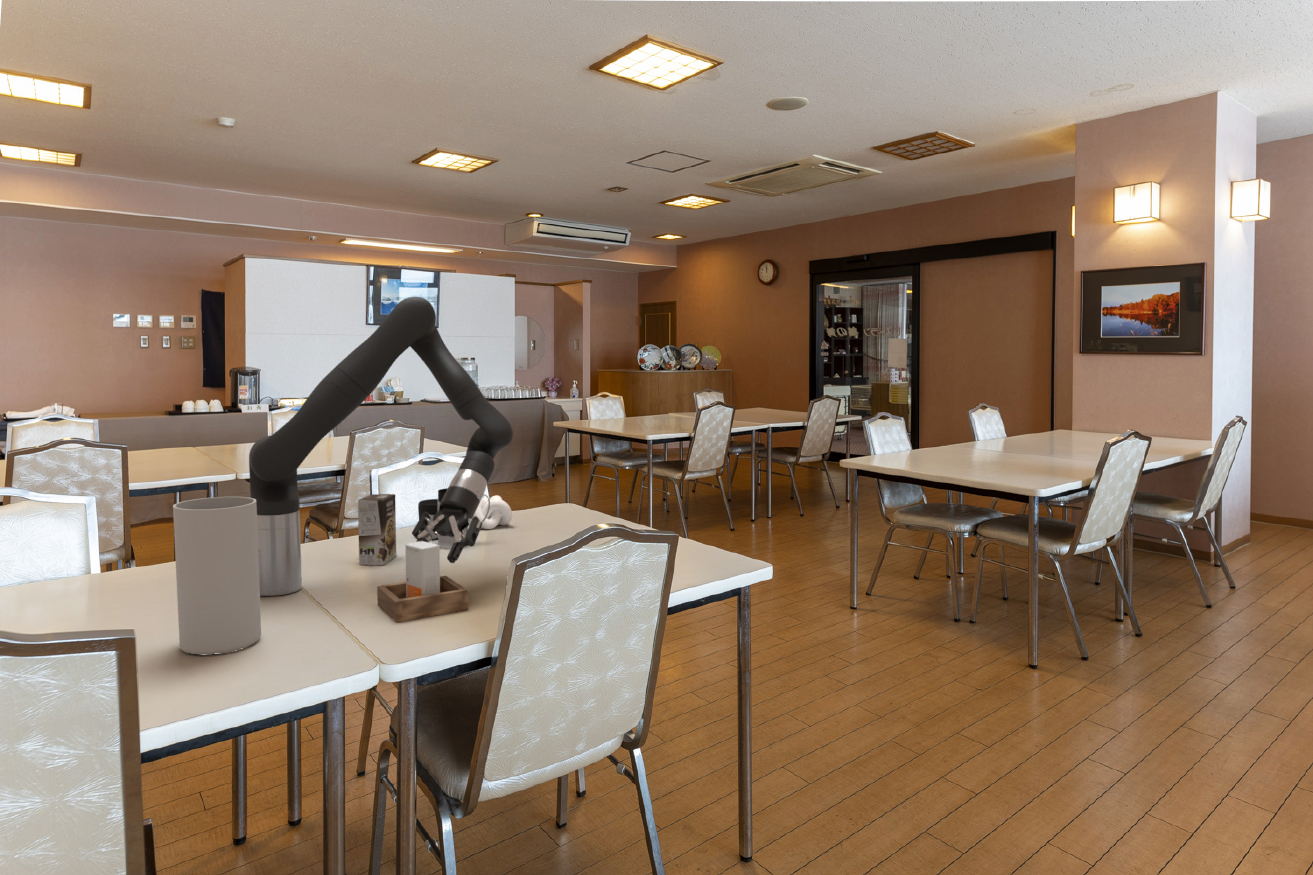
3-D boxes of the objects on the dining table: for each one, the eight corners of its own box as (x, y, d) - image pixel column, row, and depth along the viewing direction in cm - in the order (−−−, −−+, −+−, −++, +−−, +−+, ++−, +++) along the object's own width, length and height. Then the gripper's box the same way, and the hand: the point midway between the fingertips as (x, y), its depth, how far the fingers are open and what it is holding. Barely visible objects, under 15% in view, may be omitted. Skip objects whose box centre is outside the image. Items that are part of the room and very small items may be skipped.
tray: (396, 622, 150) (395, 601, 150) (377, 605, 160) (377, 586, 160) (468, 609, 158) (468, 590, 158) (446, 593, 169) (446, 575, 168)
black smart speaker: (412, 539, 219) (411, 503, 218) (429, 532, 228) (429, 498, 227) (442, 541, 216) (442, 505, 215) (459, 534, 225) (458, 499, 224)
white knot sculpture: (517, 523, 241) (517, 494, 240) (505, 532, 229) (505, 501, 229) (482, 522, 243) (482, 493, 242) (468, 530, 231) (467, 500, 230)
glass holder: (435, 542, 215) (435, 488, 214) (488, 539, 219) (488, 486, 218) (436, 549, 207) (436, 493, 205) (491, 546, 211) (491, 491, 210)
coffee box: (384, 565, 191) (383, 499, 189) (358, 565, 191) (356, 499, 189) (397, 556, 200) (396, 493, 198) (372, 555, 200) (371, 493, 198)
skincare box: (405, 601, 160) (404, 543, 158) (423, 597, 163) (422, 540, 162) (423, 608, 156) (422, 548, 155) (441, 603, 159) (440, 544, 158)
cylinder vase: (273, 631, 144) (268, 496, 142) (240, 657, 132) (234, 510, 130) (204, 631, 144) (198, 496, 142) (164, 657, 132) (156, 509, 129)
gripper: (428, 482, 171) (395, 546, 161) (485, 486, 166) (454, 552, 156) (444, 502, 176) (412, 565, 167) (499, 507, 171) (470, 571, 162)
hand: (432, 558), depth 162 cm, fingers open, 8 cm apart
